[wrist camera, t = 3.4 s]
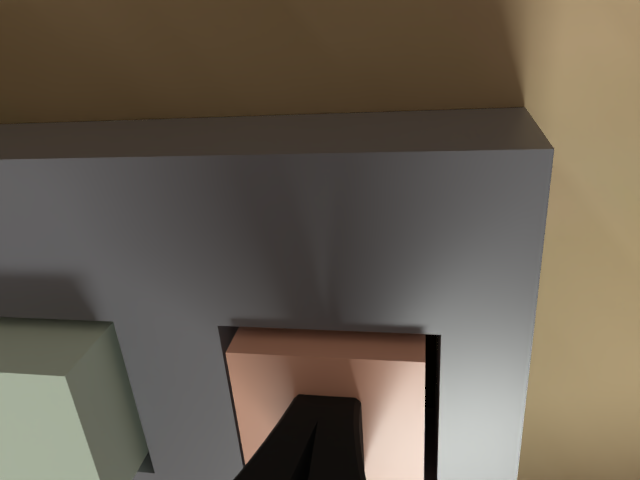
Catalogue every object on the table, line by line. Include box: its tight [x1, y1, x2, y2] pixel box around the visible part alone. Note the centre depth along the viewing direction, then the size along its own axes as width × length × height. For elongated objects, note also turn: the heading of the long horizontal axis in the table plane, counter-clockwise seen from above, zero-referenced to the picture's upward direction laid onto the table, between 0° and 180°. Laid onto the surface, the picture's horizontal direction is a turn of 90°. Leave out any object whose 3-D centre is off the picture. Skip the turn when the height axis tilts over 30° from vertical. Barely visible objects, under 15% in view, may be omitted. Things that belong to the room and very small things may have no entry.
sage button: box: [0, 317, 149, 480], centre depth 14 cm, size 4×4×3 cm
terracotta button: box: [226, 327, 425, 480], centre depth 13 cm, size 4×4×3 cm
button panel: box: [0, 107, 554, 480], centre depth 15 cm, size 22×12×3 cm, turn 94°
